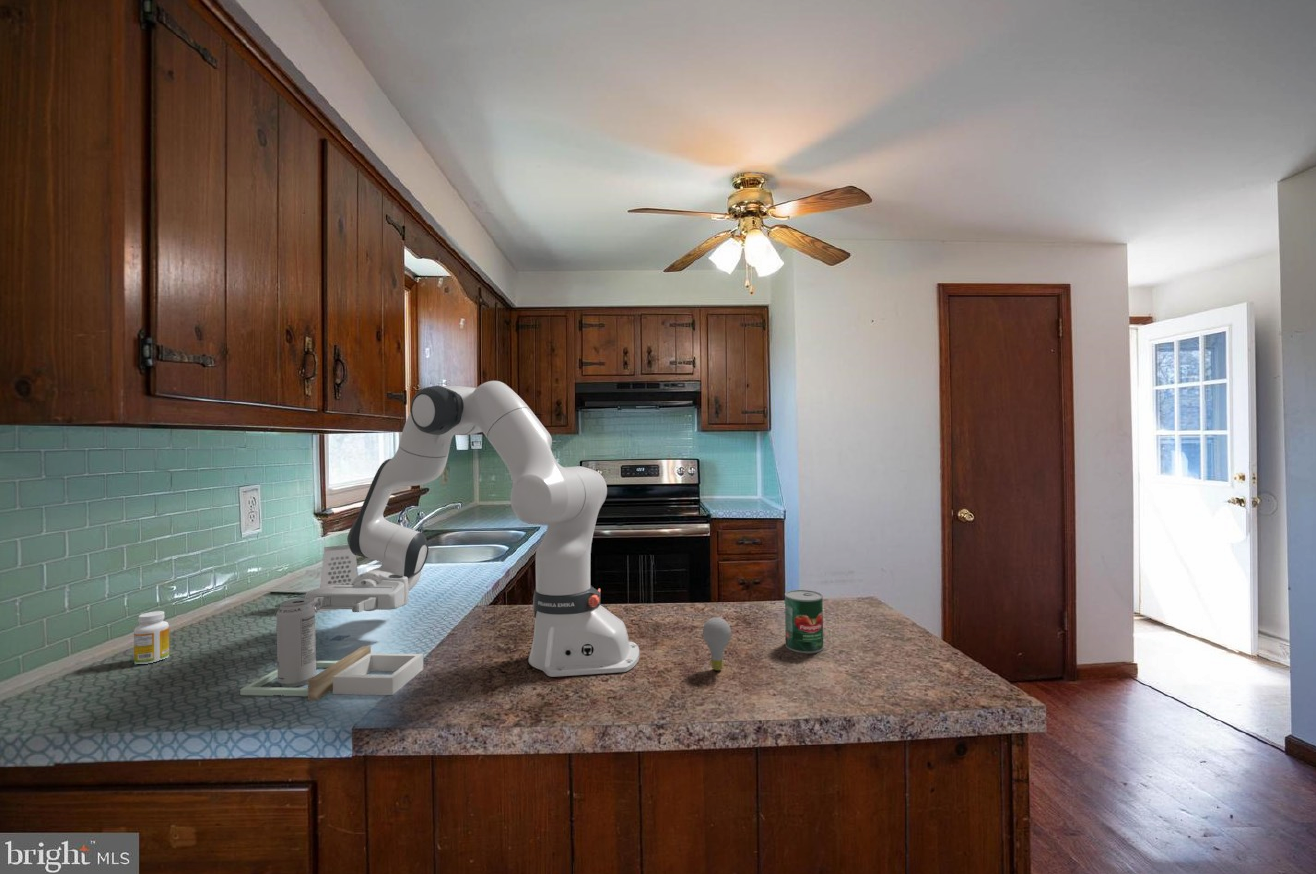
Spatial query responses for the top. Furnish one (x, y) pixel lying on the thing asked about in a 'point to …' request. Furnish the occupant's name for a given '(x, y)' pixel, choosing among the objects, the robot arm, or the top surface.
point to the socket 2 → (360, 683)
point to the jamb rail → (333, 674)
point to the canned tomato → (804, 621)
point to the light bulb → (716, 639)
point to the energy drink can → (296, 642)
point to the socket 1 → (270, 691)
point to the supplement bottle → (151, 638)
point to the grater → (338, 566)
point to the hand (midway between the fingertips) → (333, 608)
